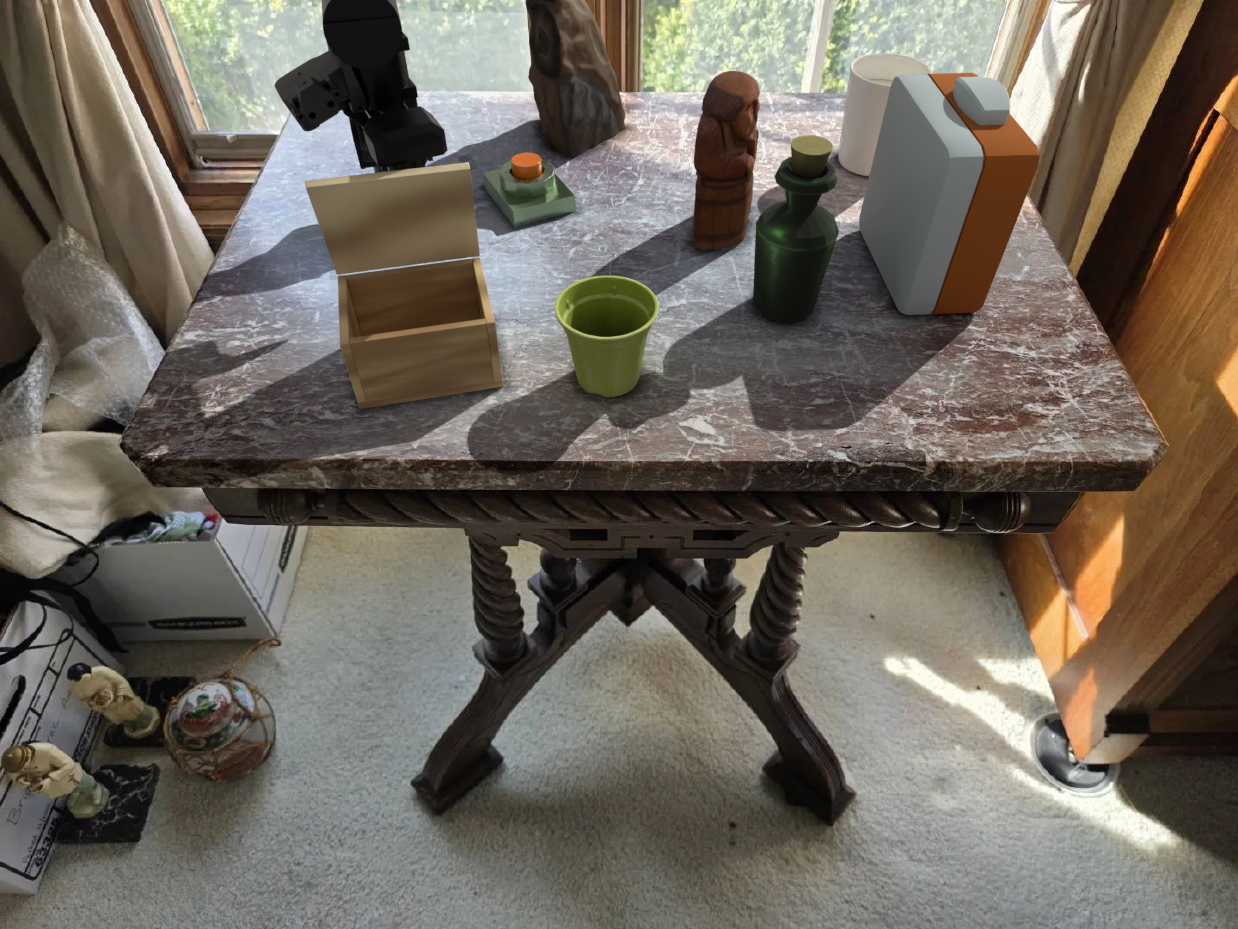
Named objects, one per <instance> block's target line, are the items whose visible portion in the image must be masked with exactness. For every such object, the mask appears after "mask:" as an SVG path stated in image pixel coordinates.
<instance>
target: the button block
mask: <svg viewBox="0 0 1238 929" xmlns="http://www.w3.org/2000/svg"><path fill="white" fill-rule="evenodd" d="M541 162H542V175H540V176H539V177H537V178H532V179H519V178H516V177H514V176H513V174H512V164H511V159H509V160H508V161H507V162H505V163H504V164H502V165H501V167H500V168H498V169H494V170H489V171H486V172H482V177H483V185H484V189H485V191H486V192H487V194H488V195H489V196H490V198H491V199H492V200H493V201H494V202H495V204H496V206H498V208H499V209H500V210H501V212H502V213H503V214H504V216H505V217H506V218H507V219H508V221H509V222H510V224H511V225H512V226H513V227H514V228H517V227H522V226H525V225H529V224H532V223H537V222H540V221H541V222H542V221H544V220H547V219H551V218H556V217H561V216H564V215H567V214H571V213H575V212H576V195H575V194H574V192H572V190H571V189H570V188H569V187H568V186H567V185H566V184H565V183H564V181H563V180H561V179H560V177H559V176H558V174H556V169H555V167H554V166H553V164H552V163H551V162H550V161H548V160H546V159H543V158H541Z"/></svg>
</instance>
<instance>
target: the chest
mask: <svg viewBox="0 0 1238 929" xmlns="http://www.w3.org/2000/svg"><path fill="white" fill-rule="evenodd" d="M337 294H338V295H337V298H338V299H337V300H338V328H339V329H338V330H339V331H338V332H339V348H340V349H341V353H342V356H343V360H344V363H345V366H346V370H347V373H348V376H349V380H350V384H351V386H352V389H353V392H354V396H355V399H356V402H357V406H358V408H359V410H363V409H364V410H365V409H370V408H371V409H372V408H377V407H382V406H383V407H384V406H390V405H395V404H402V403H409V402H414V401H421V400H428V399H434V398H440V397H445V396H446V397H447V396H452V395H459V394H465V393H472V392H478V391H484V390H491V389H496V388H497V389H498V388H503V387H504V381H503V380H504V379H503V373H502V366H501V358H500V351H499V343H498V342H499V341H498V335H497V326H496V320H495V315H494V313H493V312H494V311H493V308H492V304H491V300H490V296H489V291H488V287H487V282H486V278H485V273H484V270H483V265H482V261H481V257H471V258H463V259H455V260H448V261H440V262H432V263H429V264H428V263H425V264H417V265H410V266H402V267H394V268H387V269H379V270H372V271H364V272H357V273H349V274H340V275H337Z"/></svg>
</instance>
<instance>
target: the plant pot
mask: <svg viewBox="0 0 1238 929" xmlns="http://www.w3.org/2000/svg"><path fill="white" fill-rule="evenodd" d="M659 310H660V303H659V300H658V297H657V296H656V294H655V293H654V292H653V290H651V289H650V288H649V287H648V286H647V285H645V284H643V283H642V282H639V281H637V280H635V279H632V278H629V277H626V276H620V275H595V276H590V277H587V278H582V279H579V280H577V281H575V282H574V283H571V284H570V285H567V286H566V287H565V288H564V289H563V290H562V291H561V292H560V293H559V294H558V296H557V298H556V300H555V302H554V315H555V318H556V320H557V322H558V323H559V325H560V326H561V327H562V329H563V331H564V334H565V335H566V337H567V341H568V346H569V350H570V353H571V357H572V362H573V368H574V372H575V376H576V380H577V383H578V385H579V386H580V387H581V388H582V390H584V391H585V392H586V393H588V394H596V395H599V396H601V397H604V398H615V397H619V396H622V395H625V394H627V393H629V392H631V391H632V390H634V388H635V387H636V386H637V383H638V382H639V380H640V377H641V371H642V366H643V361H644V356H645V350H646V345H647V340H648V335H649V333H650V331H651V329H652V327H653V324H655V321H656V320H657V318H658V315H659Z"/></svg>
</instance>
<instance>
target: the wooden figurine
mask: <svg viewBox="0 0 1238 929" xmlns="http://www.w3.org/2000/svg"><path fill="white" fill-rule="evenodd" d="M760 93H761V90H760V85H759V83H758V81H757V80H756V79H755V77H753V76H752V75H750V74H748V73H747V72H745V71H740V70H727V71H723V72H721V73H719V74H717V75H715V77H713V79H712V80H711V81H710V83H709V84H708V87H707V89H706V92H705V93H704V96H703V99H702V104H701V111H702V113H701V115H700V118H699V121H698V124H697V128H696V135H695V136H696V137H695V142H694V152H693V153H694V154H693V167H694V170H695V176H696V180H695V188H694V189H695V191H694V207H693V222H692V243H693V246H694V248H695V249H697V250H699V251H721V250H725V249H728V248H733V247H734V246H737V245H738V244H740V243H742V242H743V241H744V240H745V237H746V234H747V230H748V225H749V223H750V219H749V217H750V214H751V212H752V204H753V203H752V202H753V198H754V197H753V196H754V167H755V163H756V160H757V151H758V142H759V135H760V134H759V130H758V129H757V124H758V118H759V112H760V108H761V106H760V105H761V104H760V100H759V99H760V98H759V96H760Z"/></svg>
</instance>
